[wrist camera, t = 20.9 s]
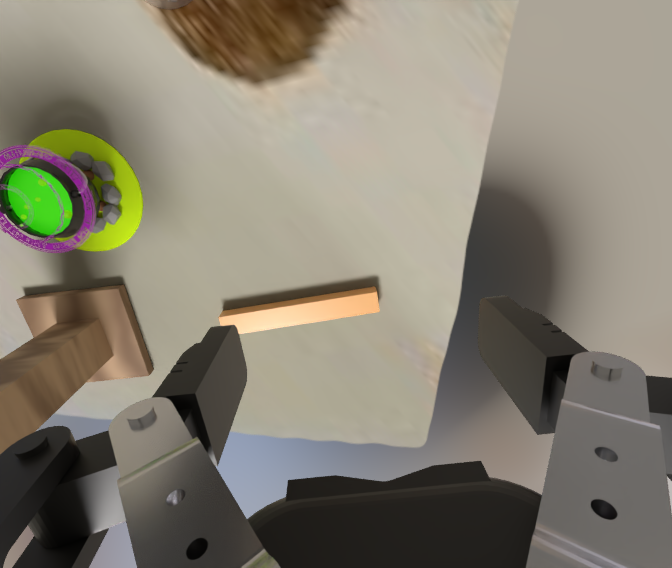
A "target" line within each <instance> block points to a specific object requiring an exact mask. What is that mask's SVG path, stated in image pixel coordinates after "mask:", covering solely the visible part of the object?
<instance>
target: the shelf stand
mask: <svg viewBox="0 0 672 568" xmlns="http://www.w3.org/2000/svg"><path fill="white" fill-rule="evenodd" d="M16 301H17V303H18V305H19V307H20V309H21V311H22V314H23V316H24V318H25V320H26V322H27V324H28V326H29V328H30V330H31V333H32V335H33V337H34V338H33V339H31V340H30V341H28V342H27V343H25V344H24V345H22V346H21V347H19V348H17V349H16V350H14V351H13V352H11V353H10V354H8V355H7V356H5V357H4V358H2V359H0V454H1V453H2V452H4V451H5V450H6V449H7V448H8V447H10V446H11V445H12V444H14V443H15V442H17V441H18V440H20V439H22V438H23V437H25V436H27V435H29V434H32V433H34V432H35V431H36V430H37V429H38V428H39V427H40V426H41V425H42V424H43V423H44V422H45V421H46V420H48V419H49V418H50V417H51V416H52V415H53V414H54V413H55V412H56V411H57V410H58V409H59V408H60V407H61V406H62V405H63V404H64V403H65V402H66V401H67V400H68V399H69V398H70V397H71V396H72V395H73V394H74V393H75V392H76V391H77V390H78V389H80V388H81V387H82V386H83V385H84V384H85V383H86V382H95V381H104V380H114V379H123V378H132V377H142V376H149V375H150V374H151V373H152V371H153V370H154V369H153V366H152V364H151V361H150V358H149V355H148V352H147V349H146V346H145V344H144V341H143V338H142V335H141V332H140V329H139V326H138V323H137V321H136V318H135V315H134V312H133V309H132V306H131V303H130V301H129V298H128V295H127V292H126V289H125V286H124V285H115V286H106V287H97V288H89V289H80V290H71V291H62V292H53V293H44V294H35V295H26V296H23V297H21V298H19V299H17V300H16Z"/></svg>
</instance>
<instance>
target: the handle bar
mask: <svg viewBox="0 0 672 568" xmlns="http://www.w3.org/2000/svg"><path fill="white" fill-rule="evenodd" d="M376 312H380V311H379V303H378V296H377V291H376V288H375V286H374V287H368V288H362V289H356V290H350V291H343V292H337V293H331V294H325V295H318V296H312V297H306V298H300V299H294V300H287V301H281V302H275V303H269V304H262V305H256V306H250V307H244V308H237V309H231V310H225V311H222V313H221V314H220V316H219V317H218V318H219V321H220V324H221V326H226V325H235V326H236V327H237V330H238V333H239V334H243V333H249V332H255V331H262V330H268V329H274V328H281V327H287V326H293V325H300V324H306V323H312V322H319V321H325V320H331V319H338V318H344V317H350V316H357V315H363V314H369V313H376Z"/></svg>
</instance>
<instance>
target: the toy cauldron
mask: <svg viewBox="0 0 672 568" xmlns="http://www.w3.org/2000/svg"><path fill="white" fill-rule="evenodd" d="M18 146H20V147H15V146H12V147H13V148H11V147H9V149H8V150H11V149H15V148H26V149H16V151H17V152H18V150H20V151H21V152H18V155H17V154H16V153H15V150H12V152H13V153H11V151H9V152H6V151H8V150H7V148H6V150H5V149H3V150H5V151H3V150H2V151H3V152H2V153H4V152H6V153H8V156H12V154H15V156H14V157H13V156H12V157H13V158H11V157H10V158H9V159H8V158H7V156H5V157H6V158H7V160H6V159H5V158H4V154H6V153H4V154H3V155H1V156H0V160H1V161H2V162H1V161H0V164H1V165H0V169H1V168H2V167H6V168H10V167H12V168H10V169H9V170H8V171H6V172H5V173H4V174H3V176H2V177H1V179H0V204H1V206H0V218H1V217H3V218H4V220H5V219H6V218H5V216H4V215H3V214H6V215H7V217H8V218H9V219H10V220H11V221H12V222H13V223H14V224H15V225H16V226H17V227H18V228H20V229H21V230H23V231H25V232H27V233H28V234H30V235H34V236H38V237H41V238H44V239H45V238H46V239H45V240H44V241H42V240H41V239H40V240H34V239H31V238H29V237H27V236H26V235H24V234H22V233H21V232H19V231H18V229H16V228H15V227H13V226H15V225H11V224H10V222H9V221H8V220H7V219H6V221H7V223H5V224H3V222H4V220H3V219H2V218H1V219H2V220H0V221H1V222H0V224H1V223H2V224H3V225H4V226H3V225H2V224H1V225H2V226H3V227H4V228H3V227H2V226H1V227H2V228H3V229H2V230H3V231H5V233H6V232H7V233H9V234H10V235H11V236H12V235H13V234H14V235H13V236H14V237H15V236H16V235H17V234H18V233H19V235H20V234H22V235H23V238H22V236H21V235H20V236H19V235H17V236H16V237H18V238H16V237H15V239H16V240H19V239H21V240H22V241H21V240H19V242H20V241H21V243H22V242H23V241H24V242H26V243H28V238H29V239H30V241H29V243H28V244H30V245H33V246H35V247H33V246H31V247H30V248H32V247H33V249H34V248H35V249H36V247H38V243H39V246H40V247H38V248H37V249H39V248H42V249H40V250H39V251H41V250H43V249H47V250H44V251H43V252H45V251H48V250H61V252H59V251H58V252H57V251H56V252H52V251H51V252H50V251H49V253H62V251H65V250H62V249H67V248H70V247H72V248H70V249H72V250H74V249H73V248H75V249H80V250H84V251H95V252H96V251H106V250H110V249H113V248H116V247H118V246H120V245H122V244H123V243H125V242H126V241H127V240H128V239H129V238H131V237H132V236H133V234H134V233H135V231H136V230H137V228H138V226H139V224H140V221H141V218H142V211H143V199H142V192H141V188H140V185H139V182H138V179H137V177H136V175H135V173H134V171H133V169H132V168H131V167H130V165H129V164H128V162H127V161H126V160H125V158H124V157H123V156H122V155H121V154H120V153H119V152H118V151H117V150H116V149H115V148H113V147H112V146H111V145H109V144H108V143H106V142H105V141H104V140H102V139H100V138H98V137H96V136H94V135H92V134H89V133H85V132H82V131H79V130H70V129H62V130H53V131H50V132H47V133H44V134H42V135H40V136H39V137H37V138H36V139H34V140H33V141H32V142H31V143H30V144H29V145H18ZM21 146H22V147H21ZM23 146H24V147H23ZM25 146H26V147H25ZM10 148H11V149H10ZM23 150H24V151H23ZM0 152H1V151H0ZM2 153H0V154H2ZM19 153H23V154H21V156H20V154H19ZM6 155H7V154H6ZM19 157H21V159H20V162H19V165H16V164H6V163H7V162H9V161H10V160H12V159H15V158H19ZM3 163H4V164H5V165H13V166H15V167H13V166H9V167H8V166H4V164H3ZM2 164H3V165H2ZM2 169H3V168H2ZM6 221H5V222H6ZM11 226H12V228H9V227H11ZM5 227H6V228H7V229H8V228H9V229H10V230H9V229H8V230H9V231H10V232H11V233H12V231H13V230H14V231H13V234H11V233H10V232H9V231H8V230H7V229H6V228H5ZM0 229H1V228H0ZM5 229H6V230H7V231H6V230H5ZM16 232H18V233H17V234H16ZM15 234H16V235H15ZM11 236H10V237H11ZM13 236H12V237H13ZM14 237H13V238H14ZM20 237H21V238H20ZM49 237H51V238H50V239H52V238H55V239H57V240H58V241H60V242H61V243H57V242H54V243H47V245H46V243H45V244H43V243H44V242H45V241H48V240H50V239H48V238H49ZM47 239H48V240H47ZM26 240H27V241H26ZM35 241H36V244H35V245H34V243H35ZM40 241H42V242H40ZM24 242H23V243H24ZM23 243H22V244H23ZM26 243H24V245H25V244H26ZM31 243H33V244H31ZM28 244H26V246H27V245H28ZM42 244H43V245H42ZM58 244H59V246H60V248H57V247H56V245H57V246H58ZM61 244H62V246H61ZM64 244H65V247H67V248H65V247H64ZM30 245H29V246H30ZM53 245H55V247H54V246H53ZM29 246H28V247H29ZM43 247H44V248H43ZM53 247H54V248H56V249H54V248H53ZM61 247H62V248H61ZM37 249H36V250H37ZM70 249H67V250H69V251H71V250H70ZM67 250H66V251H65V252H68V251H67Z"/></svg>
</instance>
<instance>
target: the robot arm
mask: <svg viewBox="0 0 672 568" xmlns="http://www.w3.org/2000/svg"><path fill="white" fill-rule="evenodd" d="M144 1H146V2H147V3H149V4H151V5H153V6H156V7H158V8H163V9H176V8H180V7H182V6H185V5H187V4H188V3H190V2H191V1H192V0H144ZM478 327H479V328H478V347H479V351H480V355H481V357H482V359H483V360H484V362H485V363H486V364H487V366H488V367H489V369H490V370H491V371H492V373H493V374H494V376H495V377H496V378H497V380H498V381H499V382H500V384H501V385H502V387H503V388H504V389H505V391H506V392H507V394H508V395H509V396H510V397H511V399H512V400H513V402H514V403H515V405H516V406H517V407H518V409H519V410H520V411H521V413H522V414H523V416H524V417H525V418H526V420H527V421H528V422H529V424H530V425H531V426H532V428H533V429H534V431H535V432H536V433H537V435H539V434H548V433H555V435H554V439H553V444H552V449H551V454H550V459H549V464H548V468H547V474H546V478H545V483H544V488H543V493H542V495H541V494H539V493H537V492H535V491H533V490H531V489H528V488H526V487H523V486H521V485H518V484H515V483H512V482H509V481H505V480H501V479H497V478H490V477H489V476H488V474H487V473H486V470H485V468H484V466H483V464H482V462H481V461H474V462H464V463H455V464H445V465H434V466H431V467H428V468H425V469H422V470H419V471H416V472H413V473H411V474H408V475H405V476H402V477H399V478H396V479H394V480H390V481H386V482H382V481H374V480H366V479H358V478H350V477H343V476H325V477H315V478H305V479H295V480H288V486H287V494H286V497H285V498H283V499H280V500H278V501H276V502H274V503H272V504H270V505H267V506H266V507H264V508H263V509H261V510H259V511H257V512H256V513H255V514H253V515H252V516H251V517H249V518H248V519H246V517H245V516H244V514H243V512H242V510H241V509H240V507H239V505H238V504H237V502H236V500H235V499H234V497H233V496H232V494H231V492H230V490H229V489H228V487H227V485H226V484H225V482H224V480H223V479H222V477H221V475H220V474H219V472H218V471H217V469H216V467H215V466H218V464H219V460H220V458H221V455H222V452H223V449H224V446H225V443H226V440H227V438H228V435H229V432H230V429H231V426H232V423H233V420H234V417H235V414H236V412H237V409H238V406H239V403H240V400H241V397H242V394H243V391H244V388H245V386H246V382H247V367H246V362H245V358H244V354H243V350H242V346H241V341H240V337H239V333H238V330H237V327H236V326H235V325H226V326H217V327H211V328H210V329H209V331H208V332H207V334H206V335H205V337H204V338H203V340H202V341H201V343H196V344H194V345H193V346H192V347H190V348H189V349H188V350H186V351H185V352H184V353H183V354H182V355H181V357H180V358H179V360H178V361H177V363H176V365H174V367H173V368H172V370H171V371H170V372H171V373H169V374H168V375H167V377H166V378H165V380H164V381H163V382H162V384H161V385H160V387H159V388H158V390H157V391H156V392H155V394H154V395H153V397H152V398H149V399H145V400H142V401H139V402H137V403H135V404H133V405H131V406H129V407H127V408H126V409H124V410H123V411H121V412H120V413H119V414H118V415H117V416H116V417H115V418H114V419H113V420H112V422H111V424H110V426H109V430H108V431H106V432H103V433H99V434H96V435H93V436H89V437H86V438H83V439H80V440H77V441H75V440H74V437H73V435H72V433H71V431H70V429H69V428H67V427H64V426H54V427H48V428H45V429H42V430H39V431H36V432H34V433H32V434H29V435H27V436H25V437H23V438H22V439H20V440H18V441H17V442H15V443H14V444H12V445H11V446H10V447H8V448H7V449H6V450H5V451H4V452H2V453H1V454H0V568H3V564H4V561H5V558H6V556H7V554H8V552H9V550H10V549H11V547H12V546H13V544H14V543H15V542H16V540H17V539H18V537H19V536H20V535H21V533H22V532H23V531H24V529H25V528H26V527H27V525H28V526H29V527H30V529H31V530H32V532H33V534H34V537H33V539H32V540H31V542H30V543H29V545H28V546H27V547H26V549H25V550H24V552H23V553H22V555H21V556H20V557H19V559H18V560H17V562H16V563H15V565H14V566H13V567H12V568H89V566H90V564H91V562H92V560H93V558H94V556H95V554H96V552H97V551H98V549H99V547H100V545H101V543H102V541H103V539H104V537H105V535H106V533H107V531H108V529H109V528H110V527H112V526H115V525H117V524H120V523H123V522H125V521H126V523H127V527H128V531H129V535H130V539H131V543H132V548H133V552H134V556H135V560H136V564H137V568H672V513H671V506H670V497H669V490H668V482H667V476H668V478H669V479H671V481H672V378H667V377H655V376H646V375H645V373H644V371H643V370H642V369H641V368H640V367H639V366H638V365H636V364H635V363H633V362H631V361H630V360H628V359H625V358H623V357H620V356H617V355H613V354H609V353H604V352H589V351H588V350H586V349H585V348H584V347H582V346H581V345H580V344H579V343H577V342H576V341H575V340H574V339H572V338H571V337H570V336H568V335H567V334H566V333H565V332H562V331H561V329H559V328H558V327H557V326H555V325H553V323H552V322H551V321H549V320H548V319H547V318H545V317H544V316H543V315H541V314H539V313H536V312H534V311H532V310H529V309H527V308H522V307H521V306H519V305H518V304H517V303H516V302H515V301H513V300H512V299H511V298H510V297H508V296H506V295H505V296H496V297H486V298H482V299H481V301H480V304H479V326H478Z"/></svg>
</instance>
